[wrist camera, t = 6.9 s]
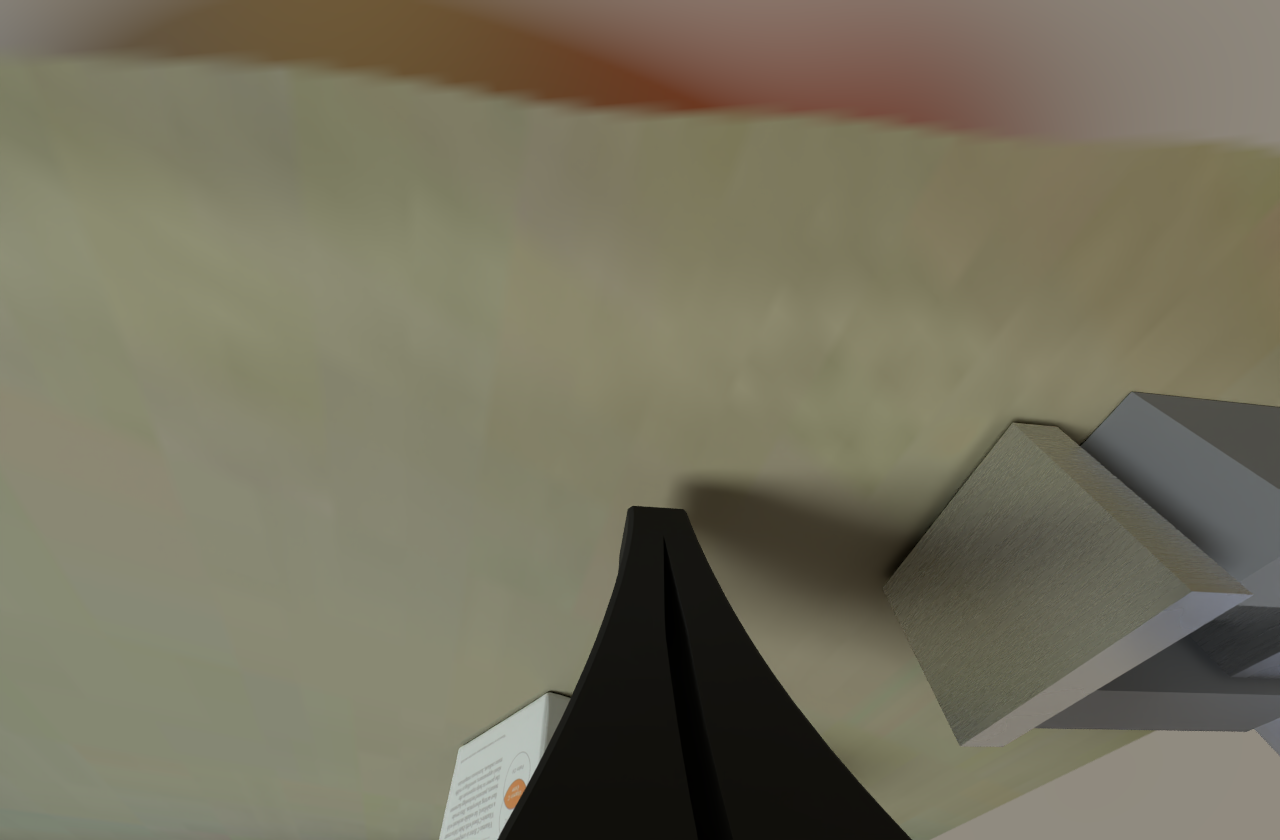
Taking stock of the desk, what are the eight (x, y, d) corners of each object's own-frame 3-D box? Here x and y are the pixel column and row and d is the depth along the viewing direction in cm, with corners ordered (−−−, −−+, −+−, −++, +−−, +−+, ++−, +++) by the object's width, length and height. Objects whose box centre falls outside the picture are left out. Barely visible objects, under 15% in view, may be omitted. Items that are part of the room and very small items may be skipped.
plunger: (1416, 437, 12) (1750, 599, 9) (1170, 602, 17) (1319, 751, 13) (1031, 398, 11) (1231, 567, 7) (882, 588, 16) (960, 748, 12)
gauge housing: (1403, 420, 12) (1701, 560, 9) (1134, 609, 18) (1254, 740, 14) (1131, 391, 11) (1348, 535, 8) (936, 600, 17) (1015, 737, 13)
